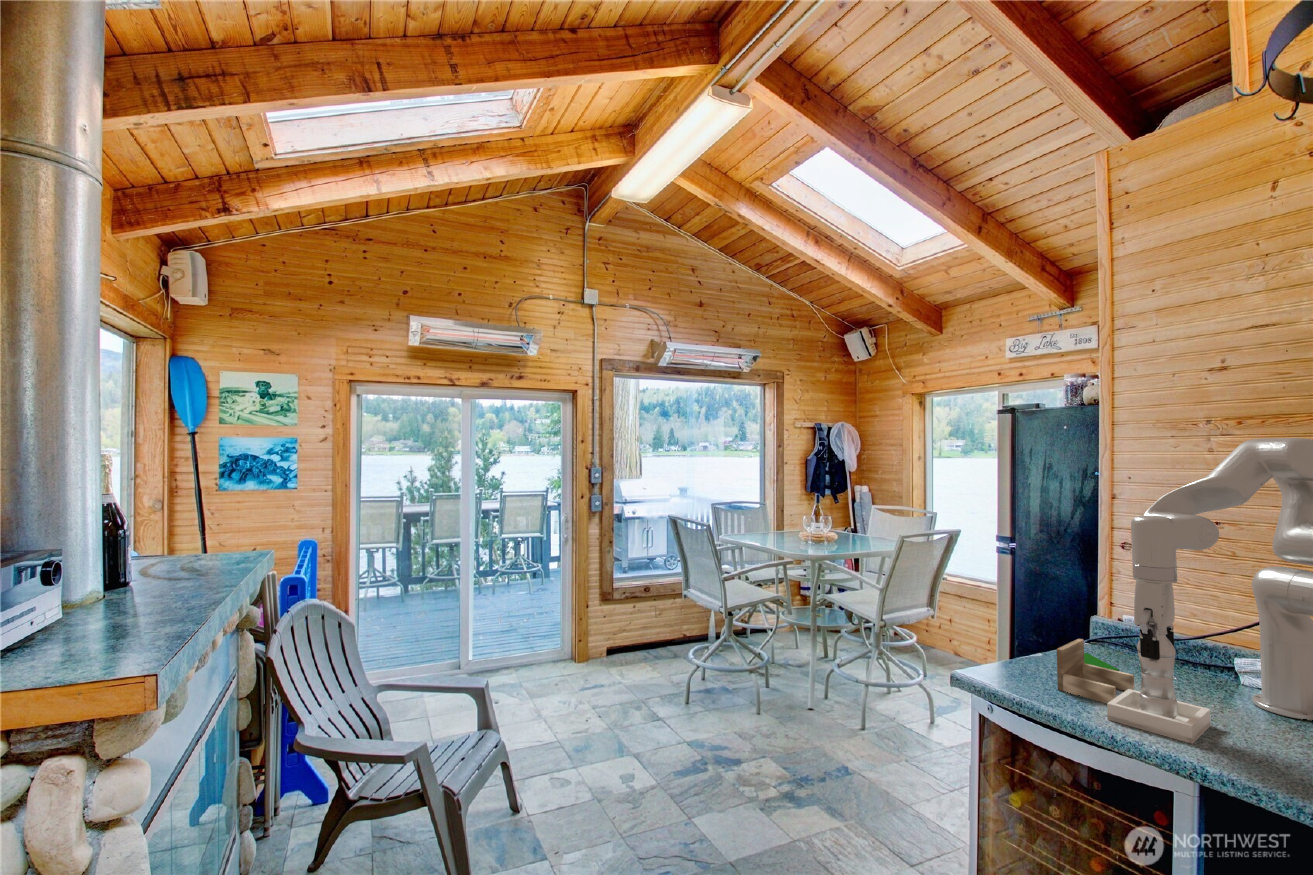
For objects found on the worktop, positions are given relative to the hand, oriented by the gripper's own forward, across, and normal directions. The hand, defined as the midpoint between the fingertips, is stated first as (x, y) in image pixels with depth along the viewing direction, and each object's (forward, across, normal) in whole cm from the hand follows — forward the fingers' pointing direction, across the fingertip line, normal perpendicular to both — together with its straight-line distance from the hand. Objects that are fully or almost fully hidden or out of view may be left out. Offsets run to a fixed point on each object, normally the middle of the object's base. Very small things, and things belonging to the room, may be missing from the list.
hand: (1157, 653), depth 135 cm
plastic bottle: (+14, 0, 0) cm, 14 cm away
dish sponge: (+16, -26, -22) cm, 38 cm away
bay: (+15, -10, -14) cm, 23 cm away
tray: (+15, 0, 0) cm, 15 cm away
